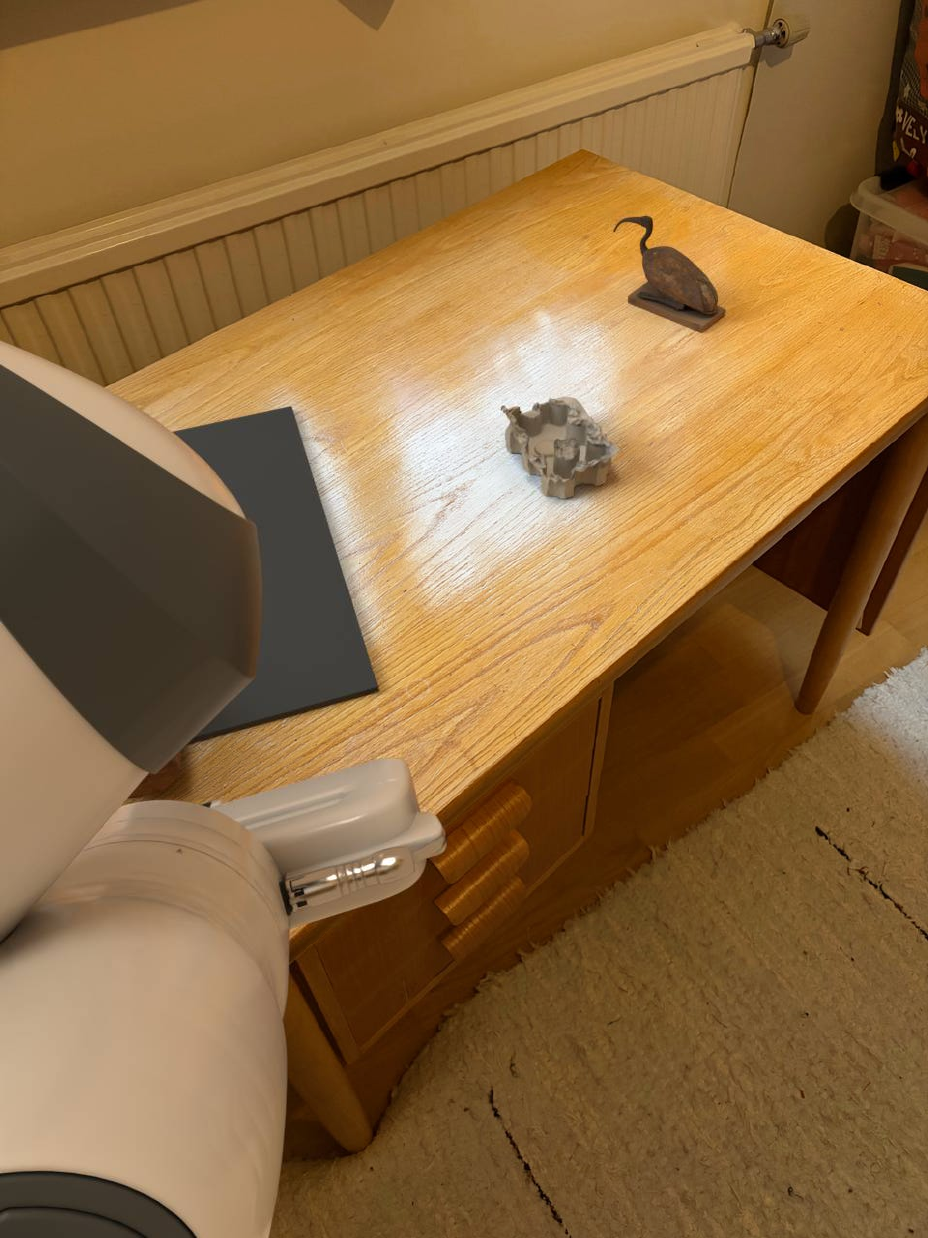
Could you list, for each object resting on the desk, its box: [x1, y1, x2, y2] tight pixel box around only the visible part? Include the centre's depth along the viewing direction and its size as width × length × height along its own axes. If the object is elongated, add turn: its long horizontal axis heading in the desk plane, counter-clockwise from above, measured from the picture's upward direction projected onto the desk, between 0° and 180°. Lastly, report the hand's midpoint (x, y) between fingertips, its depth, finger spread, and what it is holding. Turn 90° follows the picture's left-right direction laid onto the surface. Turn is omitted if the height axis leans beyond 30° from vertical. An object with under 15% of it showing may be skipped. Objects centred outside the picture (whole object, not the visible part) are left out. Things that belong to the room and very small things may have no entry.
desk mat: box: [172, 405, 380, 745], centre depth 74 cm, size 20×36×1 cm, turn 17°
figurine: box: [612, 215, 727, 333], centre depth 94 cm, size 14×4×9 cm, turn 47°
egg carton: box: [500, 396, 621, 499], centre depth 79 cm, size 11×8×4 cm
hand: (198, 822), depth 42 cm, fingers closed
